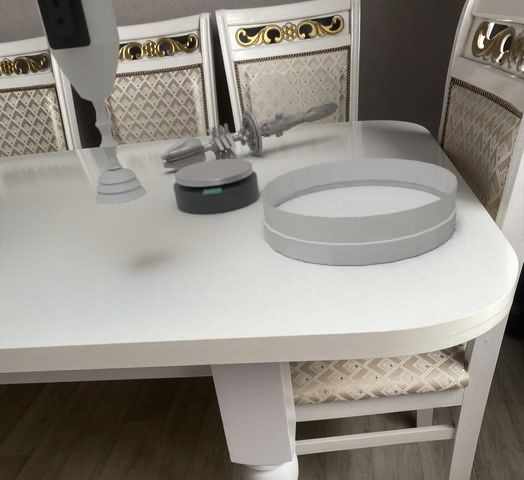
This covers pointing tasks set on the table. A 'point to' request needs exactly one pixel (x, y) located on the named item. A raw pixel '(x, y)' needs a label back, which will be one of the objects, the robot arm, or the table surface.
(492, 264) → the table surface
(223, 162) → the scale pan
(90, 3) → the chalice
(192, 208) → the scale
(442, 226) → the gray round ring
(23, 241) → the table surface
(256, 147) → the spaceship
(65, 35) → the robot arm
